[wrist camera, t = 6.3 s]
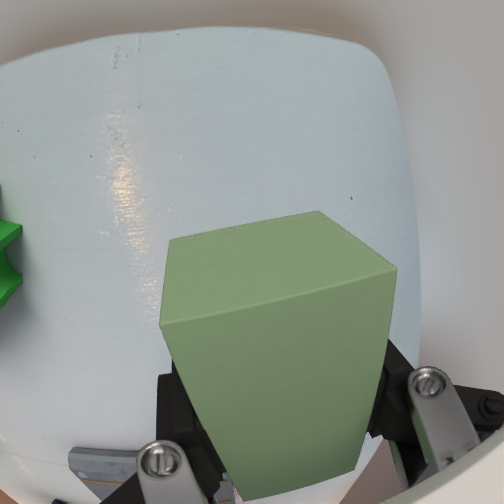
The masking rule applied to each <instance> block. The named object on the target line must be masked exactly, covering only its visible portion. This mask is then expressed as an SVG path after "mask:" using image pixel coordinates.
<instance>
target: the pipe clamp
mask: <svg viewBox="0 0 504 504" xmlns="http://www.w3.org/2000/svg"><path fill="white" fill-rule="evenodd" d="M21 234H22V225H20V224H15V223H11V222H7V221H3V220H0V309H1V307H2V306H3V305H4V304H5V302H6V301H7V300H8V299H9V297H10V296H11V295H12V294H13V293H14V291H15V290H16V289H17V288H18V287H19V285H20V284H21V283H22V274H19V273H17V272H16V271H15V270H14V269H13V268H12V267H11V266H10V265H9V263H8V261H7V258H6V255H5V246H7V245H8V244H9V243H10V242H12V241H13V240H14V239H15V238H17V237H18V236H19V235H21Z"/></svg>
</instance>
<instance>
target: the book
mask: <svg viewBox="0 0 504 504" xmlns="http://www.w3.org/2000/svg"><path fill="white" fill-rule="evenodd" d="M138 453H139V451H111V450H96V449H85V448H75V447H73V448H72V449H71V451H70V452H69V455H68V462H69V469H70V470H71V471H72V472H73V473H74V474H75V475H76V476H77V477H78V478H79V479H80V480H81V481H82V482H83V483H84V484H85V485H86V486H87V487H88V488H89V489H90V490H91V491H92V492H93V493H94V494H95V495H96V496H97V497H98V498H99V499H100V500H102V501H103V500H104V499H106V498H107V497H108V496H109V495H110V494H112V493H113V492H114V491H115V490H116V489H117V488H119V487H120V486H121V485H122V484H123V483H124V482H125V481H127V480H128V479H129V478H130V477H131V476H132V475H133V474H134V473H135V472H137V470H136V458H137V454H138ZM222 474H223V479H224V481H221V482H220V489H219V490H218V491H217V492H216V493H215V497H216V499H217V501H218V503H219V504H235V499H234V492H233V485H232V481H231V479H230V478H229V476H228V474H227V472H226V473H222Z"/></svg>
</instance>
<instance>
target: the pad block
mask: <svg viewBox="0 0 504 504" xmlns="http://www.w3.org/2000/svg"><path fill="white" fill-rule="evenodd" d="M396 276H397V268H396V267H395V266H394V265H393V264H391V263H390V262H389V261H387V260H386V259H385V258H384V257H382V256H381V255H380V254H378V253H377V252H376V251H374V250H373V249H372V248H370V247H369V246H367V245H366V244H365V243H363V242H362V241H361V240H359V239H358V238H357V237H355V236H354V235H352V234H351V233H350V232H348V231H347V230H345V229H344V228H343V227H341V226H340V225H338V224H337V223H336V222H334V221H333V220H331V219H330V218H328V217H327V216H326V215H324V214H323V213H321V212H320V211H313V212H307V213H302V214H296V215H291V216H286V217H280V218H275V219H270V220H264V221H259V222H254V223H249V224H244V225H239V226H233V227H228V228H223V229H218V230H214V231H209V232H204V233H199V234H194V235H189V236H184V237H180V238H175V239H171V240H170V241H169V248H168V255H167V262H166V269H165V277H164V285H163V293H162V302H161V311H160V320H159V326H160V329H161V331H162V334H163V337H164V339H165V342H166V344H167V347H168V349H169V352H170V354H171V357H172V359H173V362H174V364H175V367H176V369H177V371H178V374H179V376H180V378H181V381H182V383H183V385H184V388H185V390H186V392H187V394H188V397H189V399H190V401H191V403H192V405H193V407H194V410H195V412H196V414H197V416H198V418H199V420H200V422H201V424H202V426H203V428H204V429H205V430H206V432H207V434H208V436H209V438H210V440H211V442H212V444H213V446H214V448H215V450H216V452H217V453H218V455H219V457H220V459H221V461H222V463H223V465H224V467H225V468H226V470H227V474H228V476H229V478H230V479H231V481H232V483H233V485H234V486H235V488H236V490H237V491H238V493H239V495H240V497H241V498H242V500H243V501H249V500H254V499H259V498H264V497H268V496H273V495H277V494H281V493H285V492H289V491H292V490H296V489H300V488H303V487H306V486H310V485H313V484H316V483H319V482H322V481H325V480H328V479H331V478H334V477H337V476H340V475H343V474H345V473H348V472H350V471H353V470H354V469H355V466H356V464H357V461H358V458H359V455H360V451H361V448H362V445H363V442H364V439H365V435H366V431H367V427H368V424H369V420H370V416H371V413H372V409H373V405H374V401H375V397H376V393H377V388H378V384H379V380H380V377H381V372H382V368H383V363H384V358H385V352H386V347H387V341H388V335H389V329H390V323H391V316H392V309H393V302H394V294H395V285H396Z"/></svg>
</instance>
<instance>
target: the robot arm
mask: <svg viewBox="0 0 504 504" xmlns="http://www.w3.org/2000/svg"><path fill="white" fill-rule="evenodd" d="M366 432H369V434H370V435H371V437H372V438H374V437H377V436H379V435H381V434H382V436H383V438H384V439H387V440H388V442H389V445H390V449H391V453H392V456H393V460H394V464H395V468H396V472H397V475H398V480H399V484H400V488H401V492H402V493H400V494H398V495H396V496H394V497H392V498H390V499H388V500H386V501H384V502H382V503H379V504H504V395H503V394H501V393H499V392H496V391H491V390H483V389H477V388H471V387H463V386H458V385H453V384H452V382H451V380H450V378H449V377H448V376H447V374H446V373H445V372H443V371H442V370H441V369H438V368H436V367H430V366H426V367H421V368H418V369H416V370H415V369H414V368H413V367H412V366H411V365H410V363H409V362H408V361H407V360H406V359H405V357H404V356H403V355H402V354H401V353H400V351H399V350H398V349H397V348H396V347H395V346H394V344H393V343H392V342H391V341H390V340H389V339H388V341H387V347H386V352H385V358H384V363H383V368H382V372H381V377H380V380H379V384H378V388H377V393H376V397H375V401H374V405H373V409H372V413H371V416H370V420H369V424H368V427H367V431H366ZM136 470H137V472H135V473H134V474H133V475H132V476H131V477H130V478H129V479H128V480H127V481H125V482H124V483H123V484H122V485H121V486H120V487H119V488H117V489H116V490H115V491H114V492H113V493H112V494H110V495H109V496H108V497H107V498H106V499H104V500H103V501H102V502H101V503H100V504H219V503H218V501H217V499H216V497H215V493H216V492H217V491H218V490H219V489H220V482H221V481H224V479H223V474H222V473H226V472H227V470H226V468H225V467H224V465H223V463H222V461H221V459H220V457H219V455H218V453H217V452H216V450H215V448H214V446H213V444H212V442H211V440H210V438H209V436H208V434H207V432H206V430H205V429H204V428H203V426H202V424H201V422H200V420H199V418H198V416H197V414H196V412H195V410H194V407H193V405H192V403H191V401H190V399H189V397H188V394H187V392H186V390H185V388H184V385H183V383H182V381H181V378H180V376H179V374H178V371H177V369H176V367H175V364H174V362H173V359H172V373H169V374H162V375H159V376H158V385H157V416H156V441H153V442H151V443H148V444H147V445H145V446H144V447H143V448H142V449H141V450H140V451H139V453H138V454H137V458H136Z"/></svg>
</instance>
